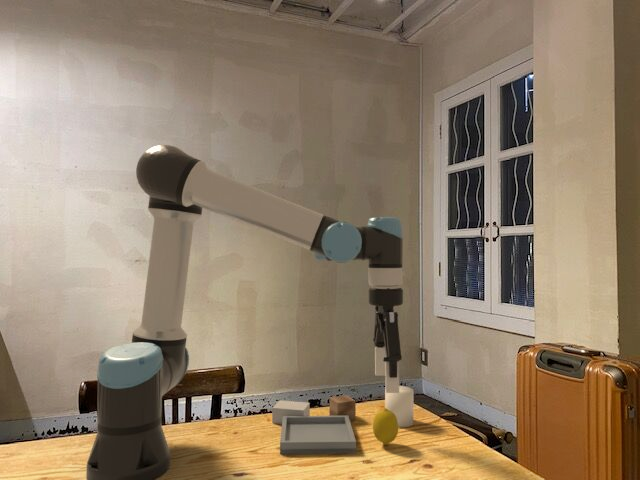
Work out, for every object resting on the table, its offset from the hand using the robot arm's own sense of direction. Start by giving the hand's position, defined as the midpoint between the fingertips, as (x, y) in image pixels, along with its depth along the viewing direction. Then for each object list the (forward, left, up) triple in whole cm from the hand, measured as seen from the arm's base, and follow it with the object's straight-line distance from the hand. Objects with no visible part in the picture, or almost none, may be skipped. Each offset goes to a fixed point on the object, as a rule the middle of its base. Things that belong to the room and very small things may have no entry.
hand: (386, 383), depth 105 cm
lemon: (0, 0, -14) cm, 14 cm away
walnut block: (-8, +17, -14) cm, 23 cm away
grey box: (-21, +16, -14) cm, 30 cm away
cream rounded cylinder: (+6, +14, -14) cm, 20 cm away
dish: (-15, +4, -13) cm, 21 cm away
